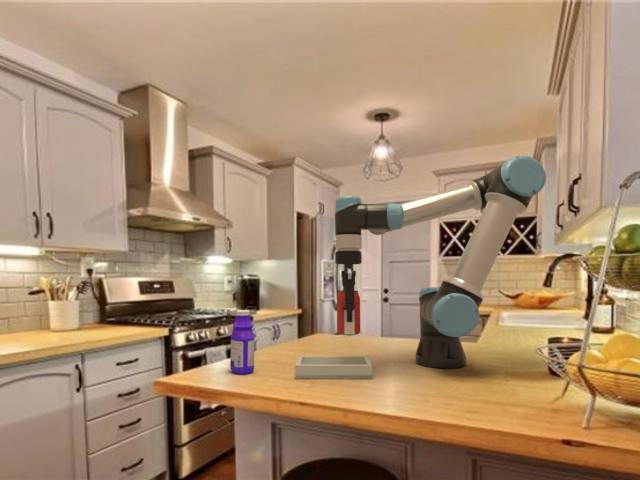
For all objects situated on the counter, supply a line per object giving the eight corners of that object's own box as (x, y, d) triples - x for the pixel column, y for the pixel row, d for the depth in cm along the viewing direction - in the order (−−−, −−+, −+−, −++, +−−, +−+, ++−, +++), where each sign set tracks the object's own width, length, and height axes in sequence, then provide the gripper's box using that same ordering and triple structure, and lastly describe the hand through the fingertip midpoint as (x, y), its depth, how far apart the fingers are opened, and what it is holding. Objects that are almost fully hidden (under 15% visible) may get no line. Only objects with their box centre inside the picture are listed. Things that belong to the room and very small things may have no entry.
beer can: (348, 336, 111) (348, 291, 112) (332, 333, 116) (332, 290, 117) (365, 333, 115) (364, 290, 116) (348, 331, 120) (348, 290, 121)
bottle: (258, 372, 116) (258, 310, 118) (241, 376, 112) (242, 311, 113) (242, 368, 121) (243, 309, 122) (226, 372, 117) (227, 310, 118)
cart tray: (367, 368, 120) (367, 356, 121) (372, 379, 108) (372, 365, 108) (298, 368, 121) (298, 356, 121) (295, 379, 109) (295, 365, 109)
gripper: (334, 252, 127) (334, 327, 125) (335, 248, 108) (336, 337, 106) (358, 252, 127) (359, 327, 125) (364, 248, 107) (365, 337, 106)
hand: (348, 331), depth 115 cm, fingers closed on beer can, 6 cm apart
